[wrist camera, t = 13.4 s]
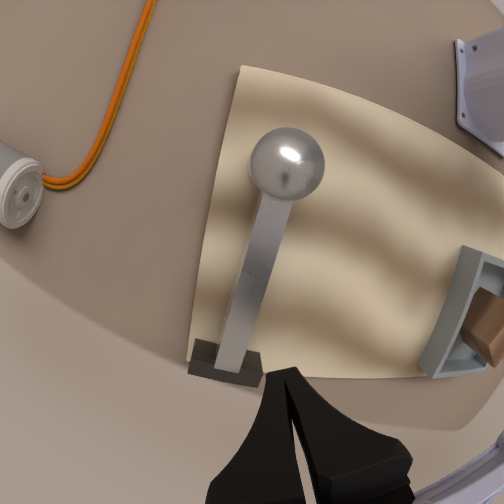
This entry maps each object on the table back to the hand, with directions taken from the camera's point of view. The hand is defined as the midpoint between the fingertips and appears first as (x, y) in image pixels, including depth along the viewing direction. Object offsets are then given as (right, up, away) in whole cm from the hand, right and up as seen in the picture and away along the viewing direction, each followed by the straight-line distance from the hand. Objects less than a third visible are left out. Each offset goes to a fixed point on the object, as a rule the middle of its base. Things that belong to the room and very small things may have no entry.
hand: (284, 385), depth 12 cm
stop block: (+19, 0, +8) cm, 20 cm away
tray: (+19, +1, +8) cm, 20 cm away
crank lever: (-1, +6, +5) cm, 8 cm away
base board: (+10, +5, +7) cm, 13 cm away
